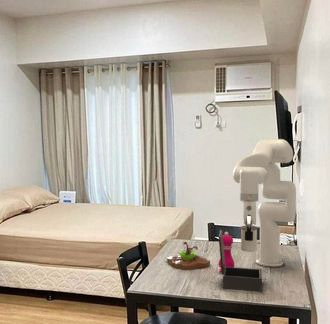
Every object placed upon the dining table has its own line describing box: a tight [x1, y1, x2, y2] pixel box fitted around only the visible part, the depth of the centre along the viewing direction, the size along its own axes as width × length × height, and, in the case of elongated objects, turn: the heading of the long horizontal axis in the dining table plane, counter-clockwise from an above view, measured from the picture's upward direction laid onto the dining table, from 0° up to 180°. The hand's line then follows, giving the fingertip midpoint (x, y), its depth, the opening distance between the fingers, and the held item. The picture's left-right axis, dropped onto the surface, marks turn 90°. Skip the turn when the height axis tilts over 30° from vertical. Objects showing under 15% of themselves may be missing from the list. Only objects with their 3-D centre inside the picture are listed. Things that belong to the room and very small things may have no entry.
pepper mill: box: [218, 231, 235, 274], centre depth 228 cm, size 7×7×20 cm
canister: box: [240, 225, 258, 253], centre depth 207 cm, size 7×7×10 cm
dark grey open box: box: [222, 266, 263, 293], centre depth 208 cm, size 16×15×6 cm
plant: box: [166, 241, 211, 271], centre depth 246 cm, size 20×20×11 cm
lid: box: [218, 229, 225, 276], centre depth 210 cm, size 16×15×1 cm
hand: (249, 238), depth 207 cm, fingers closed on canister, 6 cm apart
